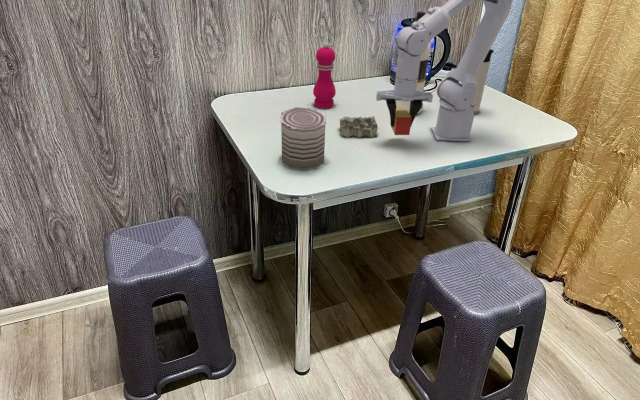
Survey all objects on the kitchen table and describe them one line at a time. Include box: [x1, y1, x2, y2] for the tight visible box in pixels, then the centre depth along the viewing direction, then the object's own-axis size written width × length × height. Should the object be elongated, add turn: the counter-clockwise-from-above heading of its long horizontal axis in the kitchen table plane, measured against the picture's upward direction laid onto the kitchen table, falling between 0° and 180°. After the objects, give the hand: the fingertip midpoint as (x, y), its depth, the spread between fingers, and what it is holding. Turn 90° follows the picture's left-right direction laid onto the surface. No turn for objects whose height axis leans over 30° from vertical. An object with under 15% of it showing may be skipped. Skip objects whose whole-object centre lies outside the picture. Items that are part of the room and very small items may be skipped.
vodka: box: [395, 11, 432, 115], centre depth 143 cm, size 9×9×30 cm
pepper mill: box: [312, 41, 337, 109], centre depth 148 cm, size 7×7×20 cm
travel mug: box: [471, 48, 495, 115], centre depth 147 cm, size 6×7×20 cm
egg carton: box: [339, 115, 379, 138], centre depth 135 cm, size 11×8×4 cm
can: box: [279, 106, 327, 171], centre depth 118 cm, size 11×11×12 cm
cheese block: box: [390, 109, 412, 136], centre depth 128 cm, size 4×6×5 cm
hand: (400, 125), depth 129 cm, fingers closed on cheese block, 4 cm apart
